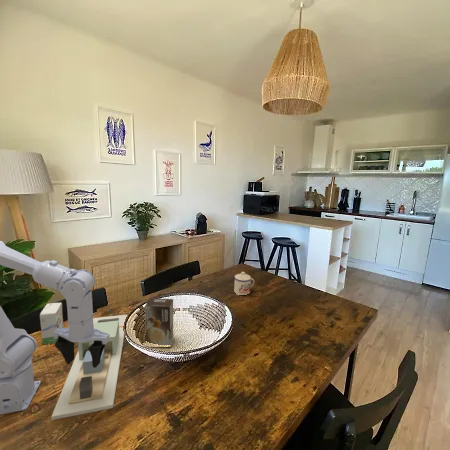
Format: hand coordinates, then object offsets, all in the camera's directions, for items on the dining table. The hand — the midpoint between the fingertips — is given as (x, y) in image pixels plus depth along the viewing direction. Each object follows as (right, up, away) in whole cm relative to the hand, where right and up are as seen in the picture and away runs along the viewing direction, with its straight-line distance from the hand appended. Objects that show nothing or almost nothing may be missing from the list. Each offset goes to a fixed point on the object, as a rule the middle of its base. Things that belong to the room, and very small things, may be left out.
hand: (83, 363), depth 69 cm
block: (-2, -6, +9) cm, 11 cm away
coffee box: (+14, -6, +25) cm, 30 cm away
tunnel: (-5, -6, +19) cm, 21 cm away
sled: (-2, -7, +9) cm, 12 cm away
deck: (-4, -6, +18) cm, 19 cm away
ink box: (-25, -4, +26) cm, 36 cm away
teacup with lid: (+49, +1, +70) cm, 86 cm away
